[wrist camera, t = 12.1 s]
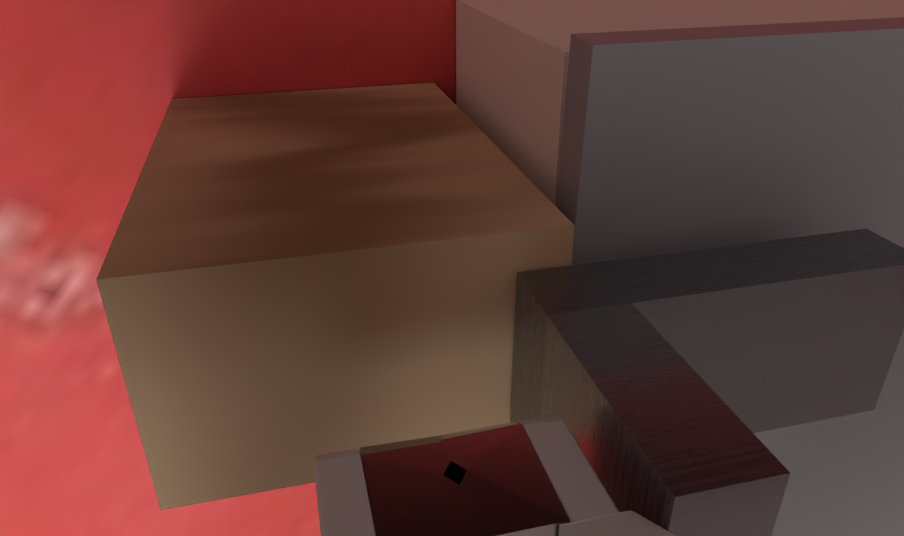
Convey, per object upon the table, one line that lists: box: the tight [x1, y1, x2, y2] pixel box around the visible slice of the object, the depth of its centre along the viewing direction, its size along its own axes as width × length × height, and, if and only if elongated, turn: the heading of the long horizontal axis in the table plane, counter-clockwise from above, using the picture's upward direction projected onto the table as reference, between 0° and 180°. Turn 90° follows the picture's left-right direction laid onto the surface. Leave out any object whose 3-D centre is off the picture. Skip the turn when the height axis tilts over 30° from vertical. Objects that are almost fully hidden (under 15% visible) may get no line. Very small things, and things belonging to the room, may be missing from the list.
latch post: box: [96, 82, 575, 510], centre depth 14 cm, size 6×4×9 cm, turn 90°
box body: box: [456, 0, 904, 206], centre depth 19 cm, size 14×14×7 cm
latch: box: [510, 228, 904, 536], centre depth 9 cm, size 6×3×4 cm, turn 90°
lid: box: [556, 17, 904, 536], centre depth 15 cm, size 14×15×1 cm
